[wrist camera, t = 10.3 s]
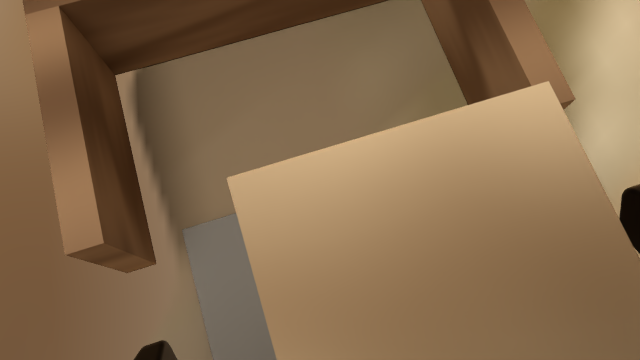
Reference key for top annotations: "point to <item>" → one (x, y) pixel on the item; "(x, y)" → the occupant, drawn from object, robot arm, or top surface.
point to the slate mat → (227, 291)
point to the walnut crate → (195, 36)
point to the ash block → (444, 243)
